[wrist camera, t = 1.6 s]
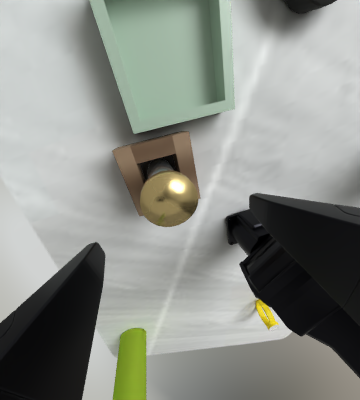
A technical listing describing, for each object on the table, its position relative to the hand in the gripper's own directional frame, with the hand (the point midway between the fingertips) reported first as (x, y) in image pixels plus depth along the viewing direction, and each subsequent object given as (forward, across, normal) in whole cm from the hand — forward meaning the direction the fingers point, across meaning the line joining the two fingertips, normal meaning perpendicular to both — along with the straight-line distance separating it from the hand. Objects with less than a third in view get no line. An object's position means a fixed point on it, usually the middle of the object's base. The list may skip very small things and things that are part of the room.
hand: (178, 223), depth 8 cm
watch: (+13, -16, +43) cm, 48 cm away
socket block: (+13, 0, 0) cm, 13 cm away
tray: (+13, -4, -10) cm, 17 cm away
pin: (+13, 0, 0) cm, 13 cm away
